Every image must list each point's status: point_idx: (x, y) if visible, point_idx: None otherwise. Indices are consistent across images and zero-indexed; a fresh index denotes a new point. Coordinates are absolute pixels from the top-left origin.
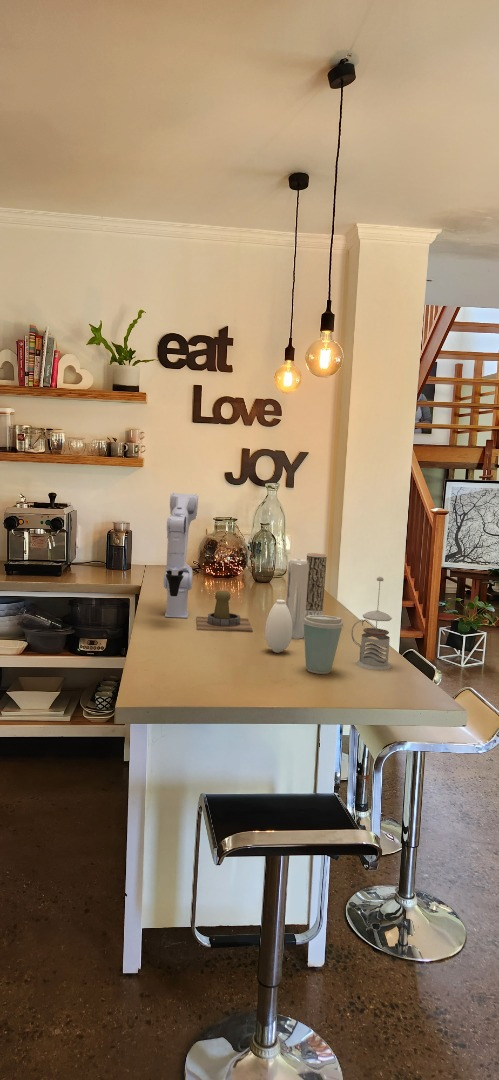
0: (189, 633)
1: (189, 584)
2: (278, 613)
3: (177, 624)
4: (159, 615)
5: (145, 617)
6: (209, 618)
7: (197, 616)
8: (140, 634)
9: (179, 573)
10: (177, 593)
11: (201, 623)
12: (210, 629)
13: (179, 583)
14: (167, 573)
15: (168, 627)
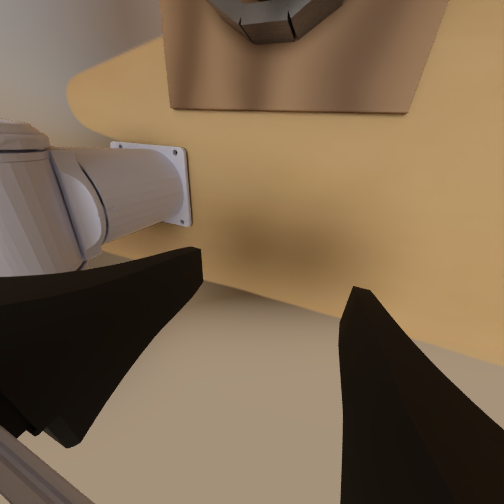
0: (478, 163)
1: (17, 141)
2: None
3: (283, 198)
4: (172, 235)
5: (203, 275)
6: (306, 12)
7: (170, 103)
8: (431, 342)
9: (26, 342)
10: (380, 304)
11: (297, 83)
12: (442, 15)
13: (491, 429)
14: (92, 421)
15: (331, 238)
